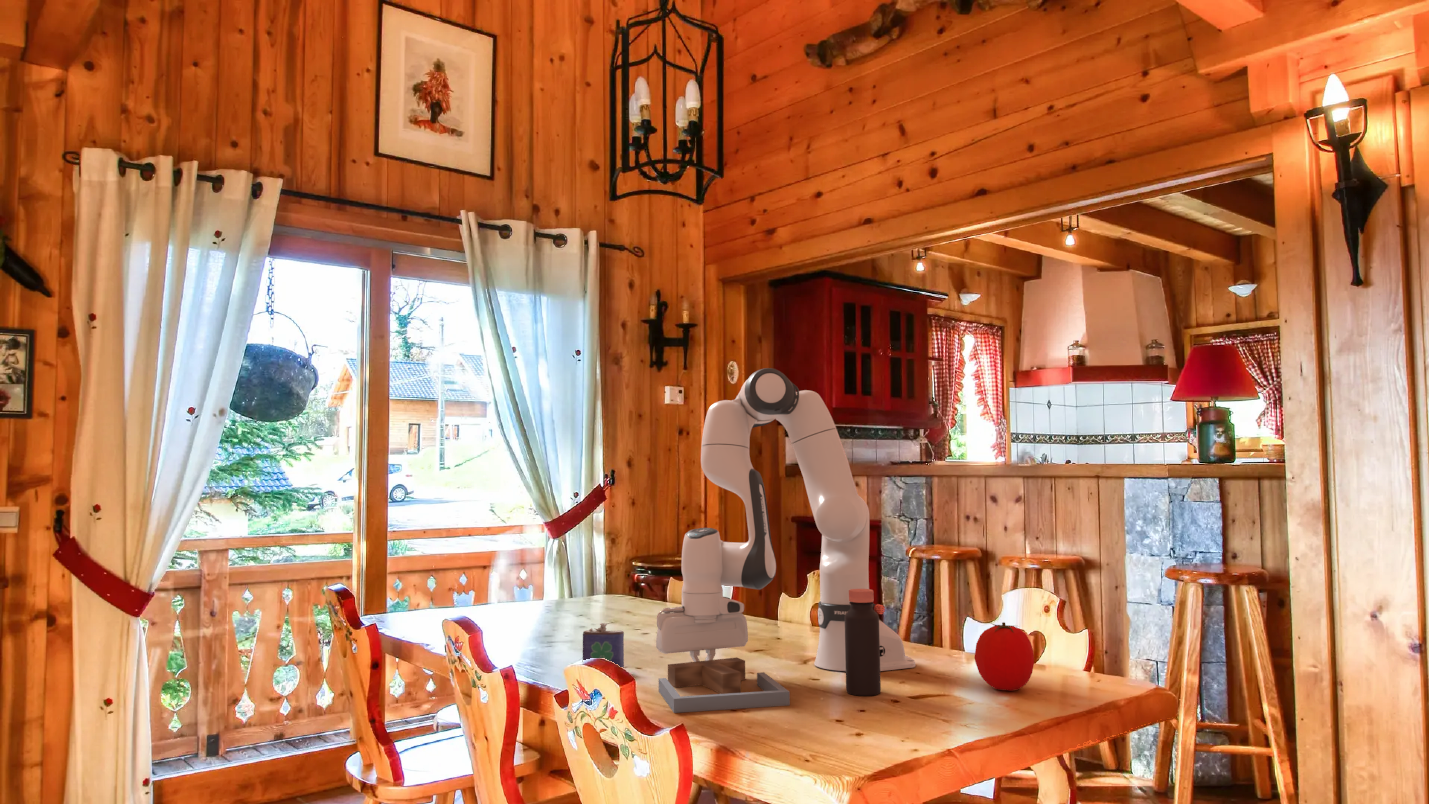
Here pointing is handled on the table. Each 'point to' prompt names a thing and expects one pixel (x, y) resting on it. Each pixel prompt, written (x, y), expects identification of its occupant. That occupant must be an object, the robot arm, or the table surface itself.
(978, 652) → the tomato
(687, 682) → the t block
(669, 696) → the corral
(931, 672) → the table surface
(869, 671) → the bottle
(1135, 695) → the table surface
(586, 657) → the flask
